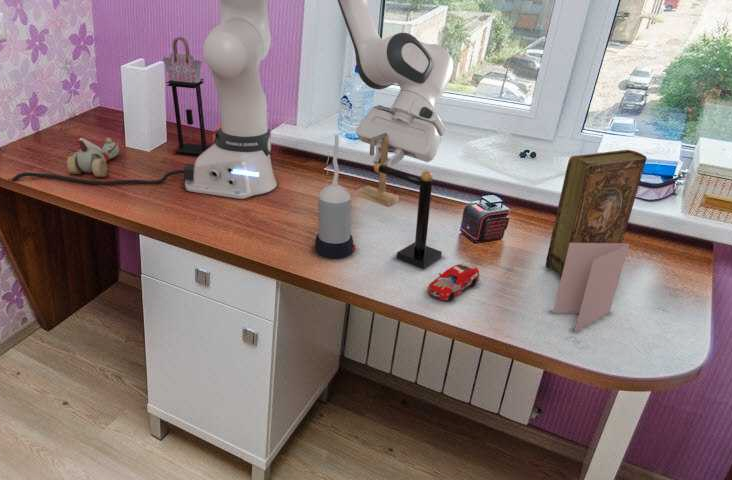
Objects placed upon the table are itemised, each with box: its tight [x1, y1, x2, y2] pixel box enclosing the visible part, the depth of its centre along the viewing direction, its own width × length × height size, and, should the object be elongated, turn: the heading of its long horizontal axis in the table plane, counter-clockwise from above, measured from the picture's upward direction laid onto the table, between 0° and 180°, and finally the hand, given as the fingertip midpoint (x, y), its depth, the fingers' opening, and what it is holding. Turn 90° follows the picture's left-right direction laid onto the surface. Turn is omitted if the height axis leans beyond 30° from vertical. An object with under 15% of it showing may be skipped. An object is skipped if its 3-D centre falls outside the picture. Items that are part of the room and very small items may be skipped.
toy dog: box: [66, 137, 120, 178], centre depth 165 cm, size 12×19×9 cm, turn 19°
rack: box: [373, 163, 443, 270], centre depth 135 cm, size 7×16×20 cm, turn 56°
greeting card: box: [552, 242, 630, 332], centre depth 118 cm, size 11×7×15 cm, turn 97°
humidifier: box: [314, 134, 356, 260], centre depth 132 cm, size 8×8×25 cm
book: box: [545, 149, 647, 278], centre depth 133 cm, size 16×6×25 cm, turn 117°
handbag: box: [162, 36, 211, 157], centre depth 174 cm, size 10×8×30 cm
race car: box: [427, 262, 480, 302], centre depth 128 cm, size 13×5×4 cm, turn 140°
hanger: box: [356, 133, 400, 208], centre depth 143 cm, size 6×9×15 cm, turn 55°
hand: (381, 165), depth 144 cm, fingers closed on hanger
